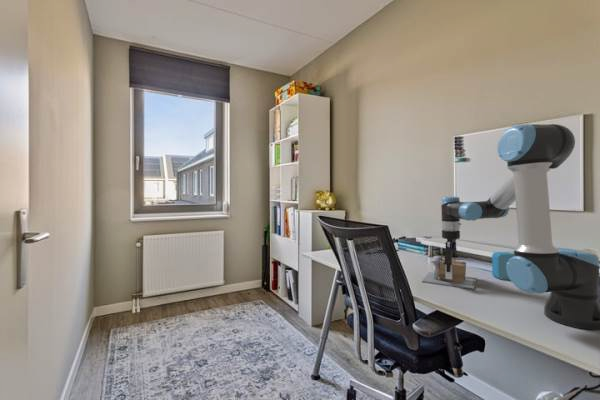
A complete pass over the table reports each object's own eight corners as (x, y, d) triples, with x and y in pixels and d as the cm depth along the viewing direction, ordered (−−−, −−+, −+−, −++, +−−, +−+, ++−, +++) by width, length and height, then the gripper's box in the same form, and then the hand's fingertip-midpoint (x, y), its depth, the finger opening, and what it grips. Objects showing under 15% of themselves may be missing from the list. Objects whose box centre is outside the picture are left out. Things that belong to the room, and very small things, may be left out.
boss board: (473, 289, 129) (473, 266, 128) (422, 282, 141) (421, 261, 140) (476, 279, 142) (476, 258, 142) (429, 273, 154) (429, 253, 154)
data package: (516, 275, 145) (516, 251, 144) (523, 278, 140) (523, 253, 140) (492, 276, 145) (491, 252, 144) (498, 279, 140) (498, 254, 140)
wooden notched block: (463, 283, 135) (464, 266, 135) (439, 279, 141) (440, 262, 140) (465, 279, 141) (466, 262, 140) (442, 275, 147) (442, 259, 146)
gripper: (455, 234, 127) (456, 283, 129) (463, 226, 148) (463, 268, 149) (436, 233, 132) (437, 281, 133) (446, 225, 152) (446, 267, 153)
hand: (451, 274), depth 141 cm, fingers open, 13 cm apart
